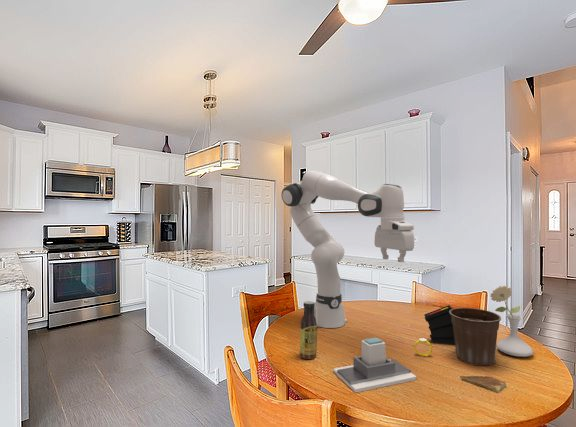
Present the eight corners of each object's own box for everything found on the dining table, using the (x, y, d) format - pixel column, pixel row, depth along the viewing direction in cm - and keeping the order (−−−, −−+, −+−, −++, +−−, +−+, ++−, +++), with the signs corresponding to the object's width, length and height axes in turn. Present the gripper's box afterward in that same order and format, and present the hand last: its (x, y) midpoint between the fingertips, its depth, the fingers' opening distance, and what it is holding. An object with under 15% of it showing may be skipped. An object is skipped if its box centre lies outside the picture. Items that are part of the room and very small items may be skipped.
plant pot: (502, 373, 107) (501, 323, 107) (447, 362, 115) (446, 316, 115) (501, 355, 120) (500, 311, 121) (452, 346, 129) (451, 305, 129)
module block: (361, 368, 107) (361, 338, 107) (377, 365, 109) (377, 336, 109) (369, 374, 103) (369, 343, 103) (385, 371, 105) (385, 341, 105)
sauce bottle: (305, 361, 117) (304, 305, 117) (296, 355, 123) (296, 301, 123) (320, 357, 120) (320, 303, 120) (311, 351, 126) (311, 299, 126)
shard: (459, 381, 103) (459, 375, 103) (469, 373, 108) (469, 368, 108) (498, 395, 95) (498, 388, 95) (507, 386, 100) (507, 380, 100)
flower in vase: (527, 349, 126) (525, 283, 126) (538, 361, 115) (537, 290, 115) (488, 345, 130) (486, 282, 130) (495, 356, 119) (494, 287, 119)
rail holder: (333, 371, 109) (333, 356, 109) (389, 361, 116) (388, 347, 116) (355, 392, 96) (355, 375, 96) (416, 379, 103) (416, 363, 103)
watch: (415, 356, 121) (413, 340, 121) (414, 353, 123) (413, 337, 124) (433, 357, 119) (431, 340, 119) (432, 354, 122) (430, 338, 122)
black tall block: (470, 342, 129) (451, 306, 131) (437, 353, 132) (420, 318, 134) (468, 339, 132) (450, 304, 134) (436, 350, 136) (419, 316, 137)
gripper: (370, 224, 137) (370, 258, 137) (402, 225, 118) (403, 264, 118) (383, 224, 139) (383, 257, 139) (417, 225, 120) (417, 263, 120)
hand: (392, 260), depth 128 cm, fingers open, 8 cm apart
